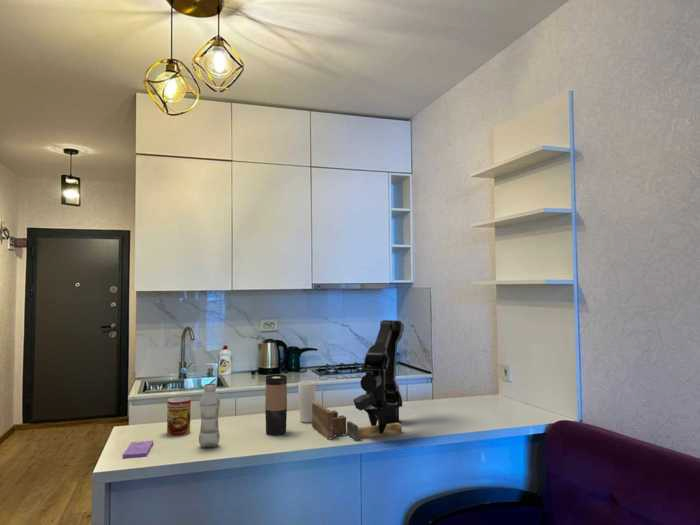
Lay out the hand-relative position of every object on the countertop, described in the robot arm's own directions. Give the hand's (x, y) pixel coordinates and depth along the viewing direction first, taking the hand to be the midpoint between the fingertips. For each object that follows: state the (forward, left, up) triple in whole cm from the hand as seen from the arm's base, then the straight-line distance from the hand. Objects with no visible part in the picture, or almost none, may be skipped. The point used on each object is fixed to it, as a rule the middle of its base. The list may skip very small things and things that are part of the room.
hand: (377, 431), depth 174 cm
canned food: (+64, -31, -1) cm, 71 cm away
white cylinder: (+17, -27, -1) cm, 32 cm away
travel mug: (+32, -17, -1) cm, 36 cm away
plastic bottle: (+56, -11, -1) cm, 57 cm away
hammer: (0, 0, -1) cm, 1 cm away
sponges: (+77, -15, -2) cm, 79 cm away
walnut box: (+13, -10, -1) cm, 16 cm away
